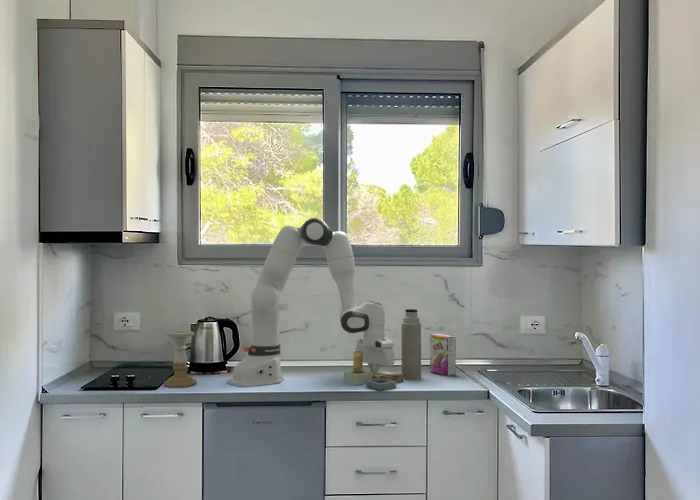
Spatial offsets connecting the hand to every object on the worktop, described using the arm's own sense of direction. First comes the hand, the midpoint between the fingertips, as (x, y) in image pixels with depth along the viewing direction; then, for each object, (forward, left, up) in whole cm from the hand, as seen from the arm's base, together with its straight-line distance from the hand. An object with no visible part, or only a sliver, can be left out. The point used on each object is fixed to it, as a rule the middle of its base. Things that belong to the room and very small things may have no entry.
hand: (373, 375), depth 252 cm
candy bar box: (+29, -11, -2) cm, 31 cm away
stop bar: (0, -10, -1) cm, 10 cm away
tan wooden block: (0, -5, -2) cm, 6 cm away
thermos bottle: (+13, -8, -2) cm, 16 cm away
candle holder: (-65, +41, -2) cm, 76 cm away
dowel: (-10, -1, -1) cm, 10 cm away
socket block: (-10, -1, -1) cm, 10 cm away
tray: (-10, -14, -1) cm, 17 cm away
